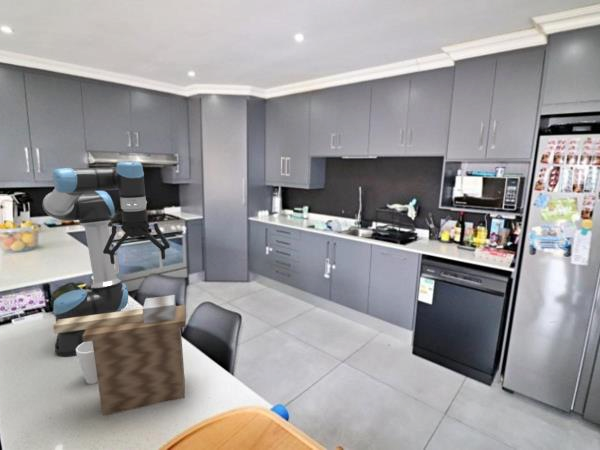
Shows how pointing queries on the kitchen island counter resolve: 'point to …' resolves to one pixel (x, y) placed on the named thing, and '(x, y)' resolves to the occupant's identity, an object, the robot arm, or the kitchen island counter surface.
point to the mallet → (123, 316)
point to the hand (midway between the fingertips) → (139, 270)
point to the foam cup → (87, 361)
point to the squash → (63, 291)
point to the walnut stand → (139, 363)
